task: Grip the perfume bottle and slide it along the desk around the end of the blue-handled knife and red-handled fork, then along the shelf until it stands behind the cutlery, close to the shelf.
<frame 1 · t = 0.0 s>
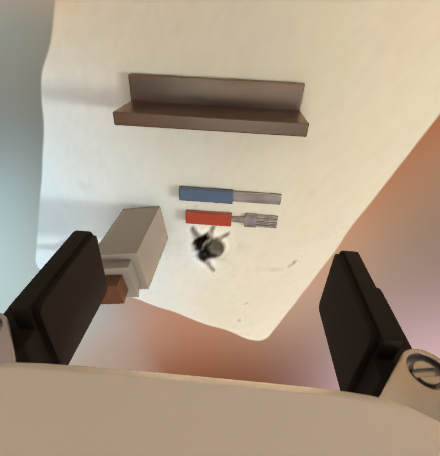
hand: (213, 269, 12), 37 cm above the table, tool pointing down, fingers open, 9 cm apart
perfume bottle: (146, 223, 56), on the table
knife: (230, 195, 51), on the table
shelf: (215, 110, 44), on the table
fork: (228, 218, 54), on the table
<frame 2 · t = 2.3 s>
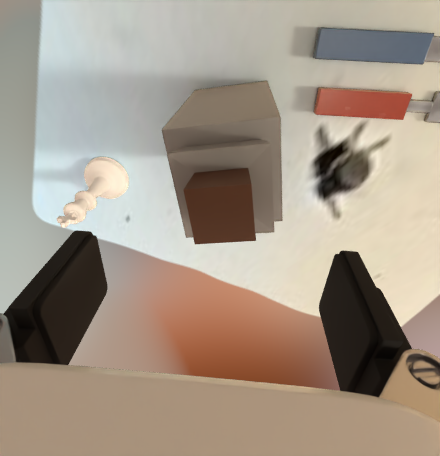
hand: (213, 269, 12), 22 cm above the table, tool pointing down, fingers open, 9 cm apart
chess piece: (108, 176, 35), on the table
perfume bottle: (234, 121, 30), on the table
knife: (417, 48, 26), on the table
fork: (397, 104, 28), on the table
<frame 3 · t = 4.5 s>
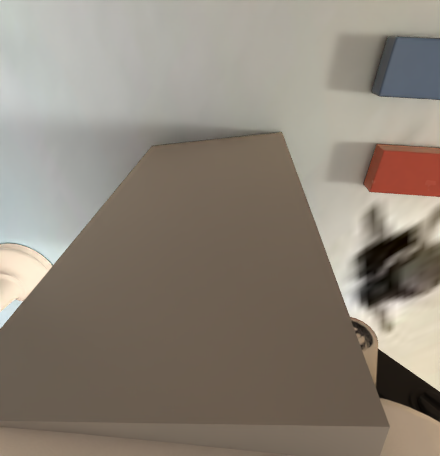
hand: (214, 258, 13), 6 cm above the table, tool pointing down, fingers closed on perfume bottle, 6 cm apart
chess piece: (25, 269, 22), on the table
perfume bottle: (223, 196, 17), on the table, touching gripper
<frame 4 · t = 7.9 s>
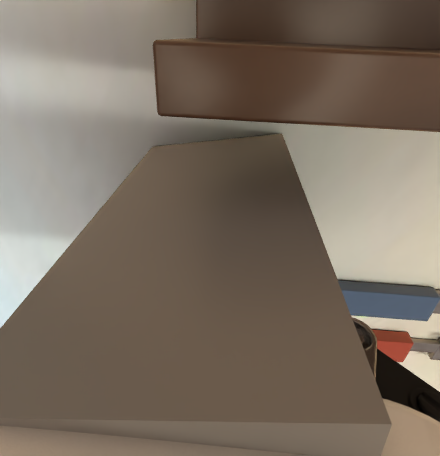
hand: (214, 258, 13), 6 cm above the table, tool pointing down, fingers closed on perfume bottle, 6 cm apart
perfume bottle: (223, 197, 18), on the table, touching gripper
knife: (419, 298, 20), on the table
fork: (395, 341, 23), on the table
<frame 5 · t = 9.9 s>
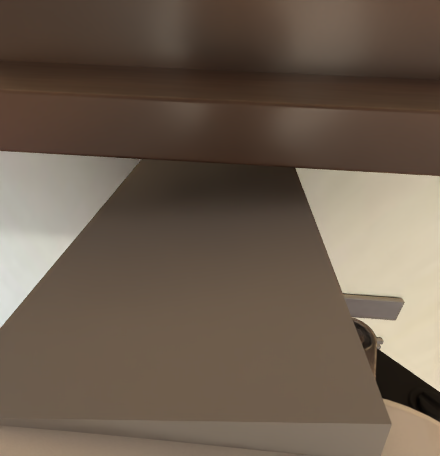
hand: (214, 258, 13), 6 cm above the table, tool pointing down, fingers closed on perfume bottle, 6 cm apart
perfume bottle: (223, 197, 18), on the table, touching gripper
knife: (275, 298, 21), on the table
shelf: (249, 88, 14), on the table
when the fingers open (6 cm above the table, at t = 11.2 s): perfume bottle stays where it is, on the table.
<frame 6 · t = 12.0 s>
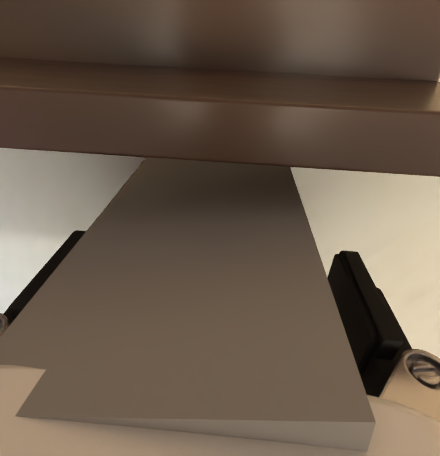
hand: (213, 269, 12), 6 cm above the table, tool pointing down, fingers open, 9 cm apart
perfume bottle: (222, 199, 18), on the table
shelf: (166, 83, 14), on the table
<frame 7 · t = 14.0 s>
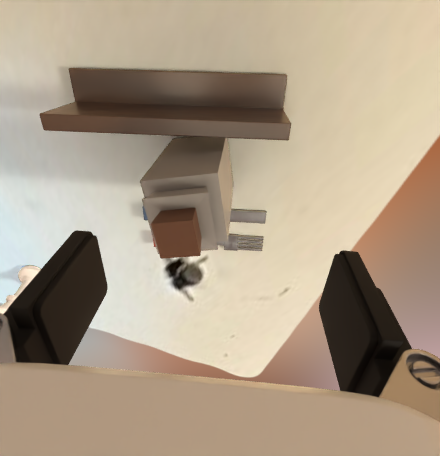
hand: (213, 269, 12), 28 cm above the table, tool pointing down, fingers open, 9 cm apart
chess piece: (35, 275, 51), on the table
perfume bottle: (204, 161, 39), on the table
knife: (204, 213, 42), on the table
shelf: (178, 111, 36), on the table
fork: (204, 240, 45), on the table
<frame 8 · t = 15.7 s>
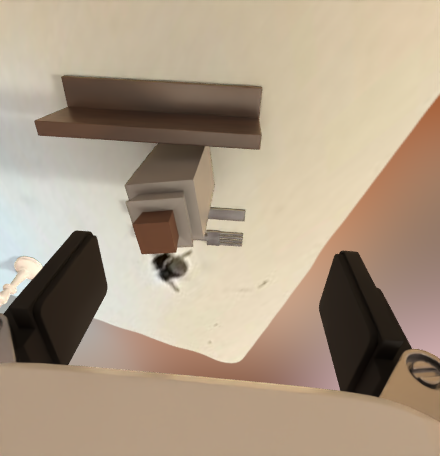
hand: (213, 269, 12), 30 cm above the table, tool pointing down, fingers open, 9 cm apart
chess piece: (30, 266, 55), on the table
perfume bottle: (187, 163, 42), on the table
knife: (188, 211, 46), on the table
shelf: (163, 117, 39), on the table
fork: (189, 235, 48), on the table
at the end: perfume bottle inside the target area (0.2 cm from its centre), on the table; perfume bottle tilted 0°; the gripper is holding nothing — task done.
